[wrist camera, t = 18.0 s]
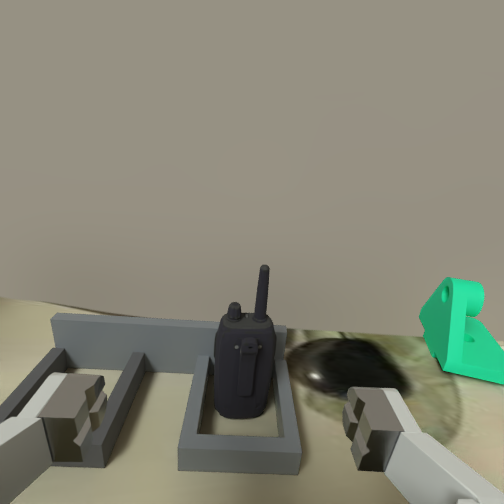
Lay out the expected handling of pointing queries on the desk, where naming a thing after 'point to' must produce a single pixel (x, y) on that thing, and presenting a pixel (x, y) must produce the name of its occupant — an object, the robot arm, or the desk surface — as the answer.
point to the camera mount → (461, 331)
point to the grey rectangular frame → (114, 411)
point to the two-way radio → (244, 357)
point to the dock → (201, 365)
